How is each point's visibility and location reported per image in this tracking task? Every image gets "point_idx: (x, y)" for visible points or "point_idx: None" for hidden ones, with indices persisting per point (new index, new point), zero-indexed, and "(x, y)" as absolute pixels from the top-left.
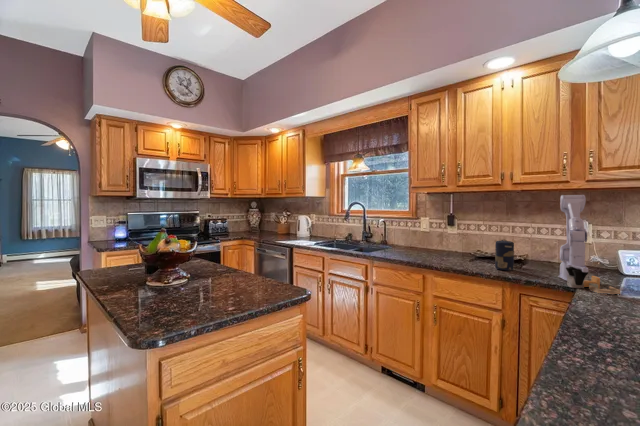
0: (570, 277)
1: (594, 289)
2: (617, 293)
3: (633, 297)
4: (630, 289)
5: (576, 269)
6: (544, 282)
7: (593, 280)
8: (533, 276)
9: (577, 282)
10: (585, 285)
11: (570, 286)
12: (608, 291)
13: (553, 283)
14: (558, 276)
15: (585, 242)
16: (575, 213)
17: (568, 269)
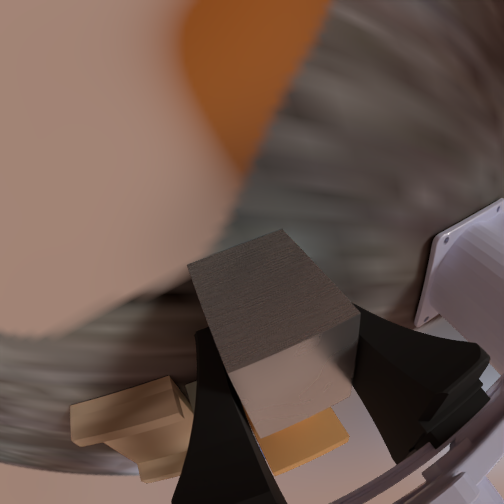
0: (257, 347)
1: (101, 420)
2: (136, 461)
3: (136, 474)
4: None
5: (400, 440)
6: (343, 6)
7: (307, 422)
8: (495, 32)
9: (201, 362)
10: None
11: (208, 261)
12: (150, 446)
13: (331, 95)
14: (498, 201)
15: None
16: None
17: (426, 391)
